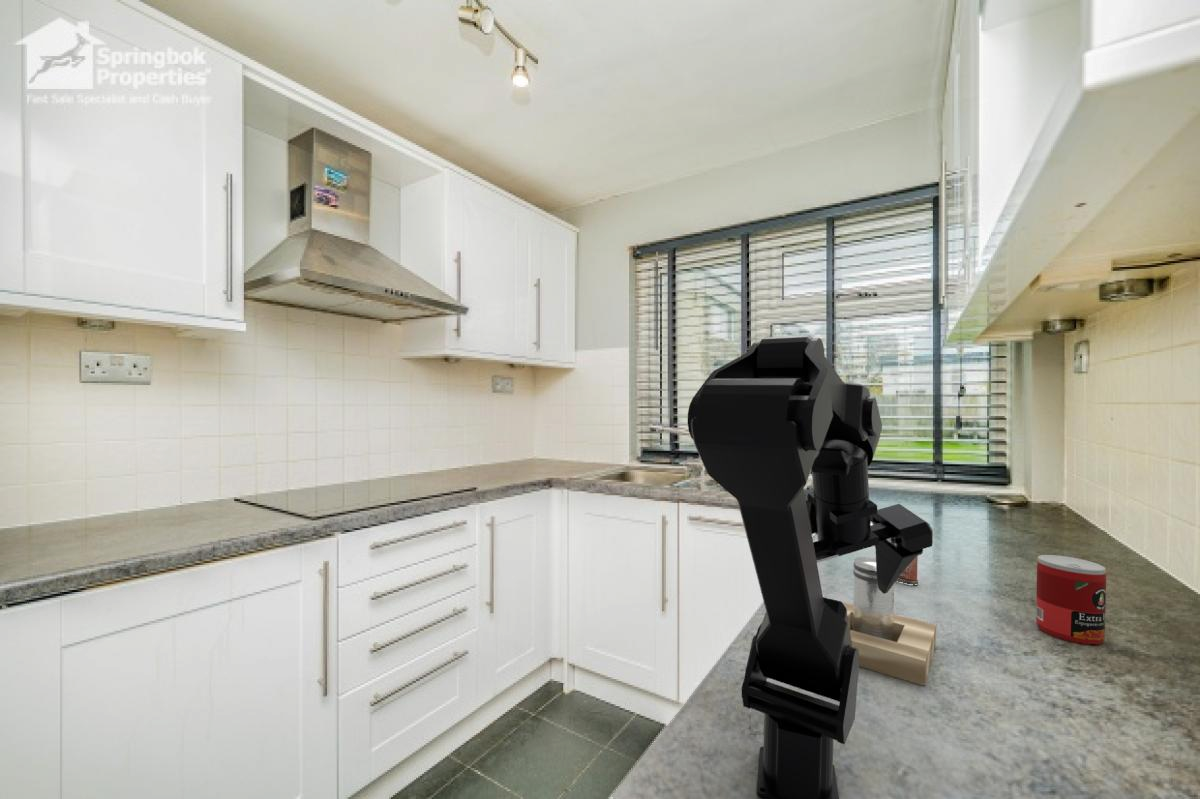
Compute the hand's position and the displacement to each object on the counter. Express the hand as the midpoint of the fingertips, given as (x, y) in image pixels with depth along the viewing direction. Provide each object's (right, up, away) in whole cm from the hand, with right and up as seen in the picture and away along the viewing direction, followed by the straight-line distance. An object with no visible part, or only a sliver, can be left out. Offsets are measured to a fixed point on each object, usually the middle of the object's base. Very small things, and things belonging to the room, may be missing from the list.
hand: (848, 601), depth 63 cm
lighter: (+29, -11, +39) cm, 50 cm away
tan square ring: (+8, -10, +9) cm, 15 cm away
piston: (+8, -10, +9) cm, 15 cm away
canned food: (+41, -11, +16) cm, 46 cm away
